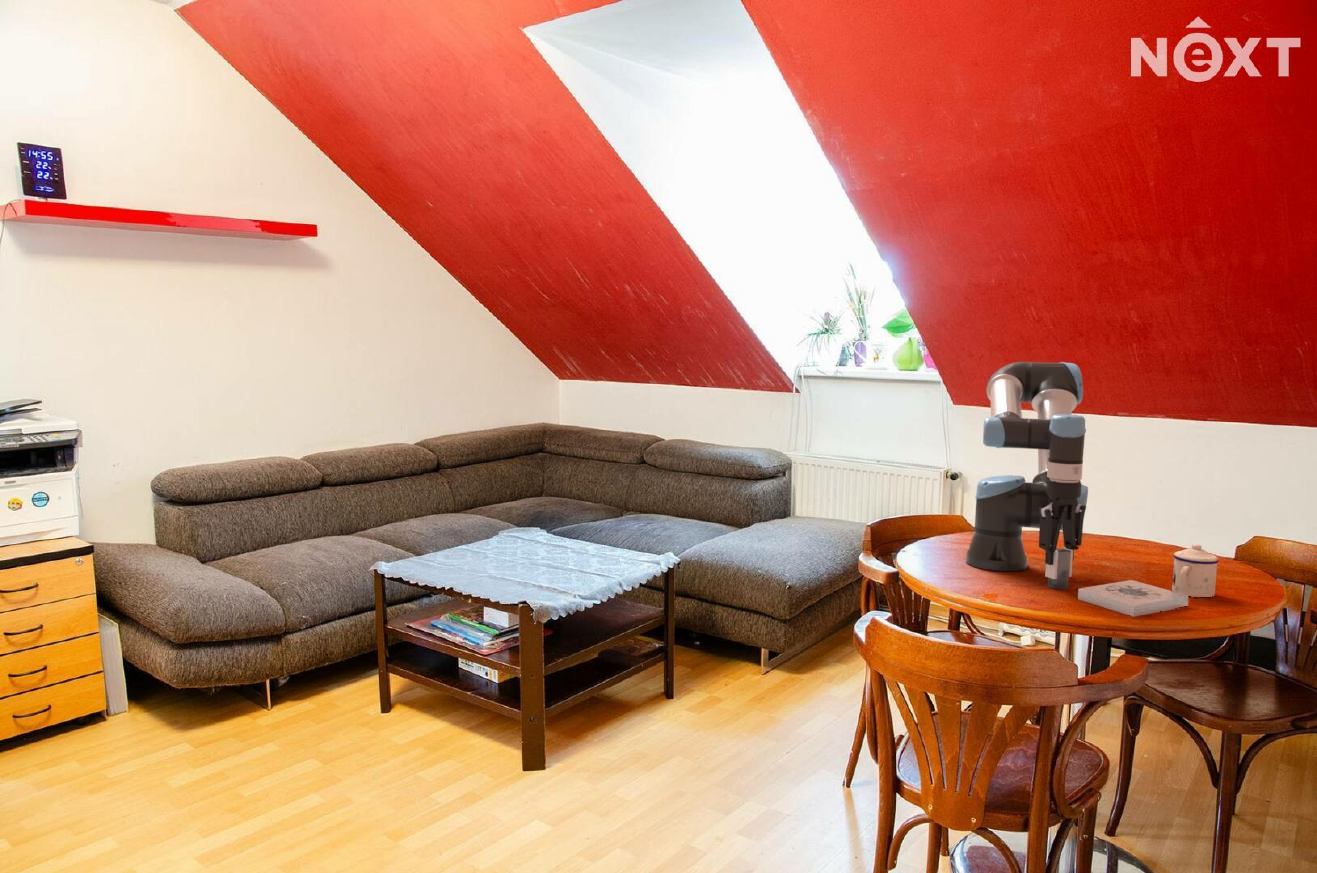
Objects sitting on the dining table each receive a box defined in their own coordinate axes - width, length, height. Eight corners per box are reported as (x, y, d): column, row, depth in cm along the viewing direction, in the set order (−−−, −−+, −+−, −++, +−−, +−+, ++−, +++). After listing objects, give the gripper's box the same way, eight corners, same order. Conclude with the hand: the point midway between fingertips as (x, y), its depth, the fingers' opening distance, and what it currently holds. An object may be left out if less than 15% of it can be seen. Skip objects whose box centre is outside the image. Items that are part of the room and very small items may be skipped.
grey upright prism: (1043, 585, 216) (1045, 549, 215) (1056, 583, 218) (1058, 547, 217) (1058, 590, 212) (1061, 553, 211) (1071, 588, 214) (1074, 551, 213)
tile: (1077, 599, 205) (1078, 588, 205) (1130, 590, 213) (1131, 580, 213) (1133, 616, 193) (1134, 605, 192) (1187, 606, 200) (1188, 595, 200)
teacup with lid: (1179, 585, 217) (1183, 538, 216) (1221, 594, 210) (1225, 545, 209) (1159, 594, 210) (1163, 545, 208) (1202, 603, 203) (1206, 553, 201)
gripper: (1051, 484, 205) (1045, 584, 207) (1103, 480, 212) (1096, 576, 215) (1025, 479, 212) (1019, 576, 214) (1076, 475, 219) (1070, 569, 222)
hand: (1058, 576), depth 215 cm, fingers closed on grey upright prism, 4 cm apart
